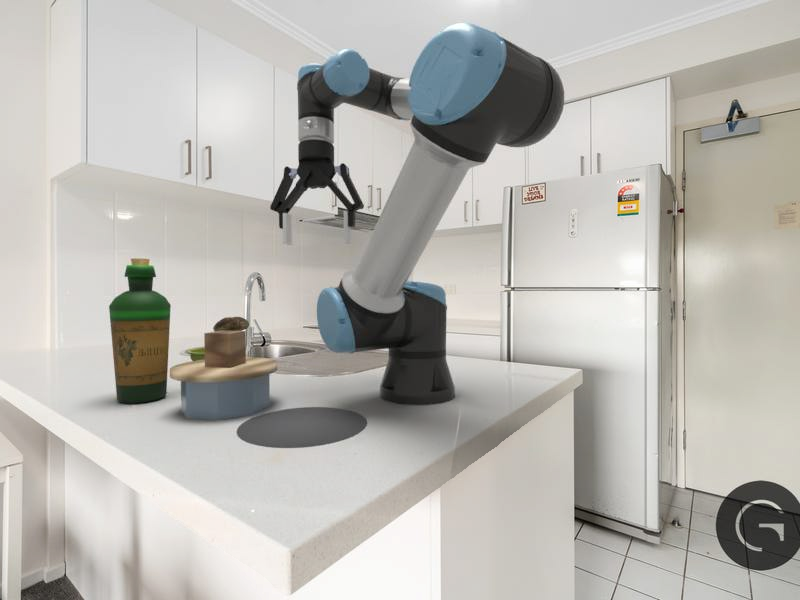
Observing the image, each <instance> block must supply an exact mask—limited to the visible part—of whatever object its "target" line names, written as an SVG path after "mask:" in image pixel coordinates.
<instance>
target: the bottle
mask: <svg viewBox="0 0 800 600" xmlns="http://www.w3.org/2000/svg"><path fill="white" fill-rule="evenodd" d="M130 262H131V264H126V266H125V272H124V276H123V277H124V278H127V283H128V290H126V291H123V292H122V293H120V294H119V295H118V296H116V297H115V298H114V299H113V300H112V301H111V302H110V304H109V305H108V311H109V320H110V322H109V323H110V332H111V343H112V345H111V346H112V354H113V356H112V357H113V368H114V378H115V379H114V380H115V381H114V382H115V392H116V400H117V401H118V402H120V403H123V404H130V405H131V404H146V403H152V402H155V401H158V400H161V399H163V398H164V397H166V396H167V389H168V388H167V387H168V372H169V371H168V365H169V346H170V326H171V325H170V324H171V307H172V306H171V303H170V301H169V300H168V299H167V298H166V297H165V296H164V295H163V294H161V293H159V292H158V291H155V290H153V285H154V278H157V274H156V270H155V266H154V265H150V259H149V258H130Z"/></svg>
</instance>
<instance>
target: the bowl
mask: <svg viewBox="0 0 800 600" xmlns="http://www.w3.org/2000/svg"><path fill="white" fill-rule="evenodd" d="M180 399H181V400H180V408H181V409H180V410H181V413H183V415H184V417H186V419H202V420H217V421H218V420H224V419H231V418H235V417H242V416H248V415H253V414H256V413H258V412H259V411H261V410H263V409H264V408H266V407H268V406H270V404H271V403H270V402H271V401H270V374H268V375H265V376H261V377H256V378H251V379H244V380H236V381H225V382H185V381H180Z"/></svg>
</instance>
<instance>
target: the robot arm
mask: <svg viewBox="0 0 800 600" xmlns="http://www.w3.org/2000/svg"><path fill="white" fill-rule="evenodd" d="M427 42H428V43H426V45H425V46H424V48H423V49H422V50H421V52H420V54H419V55H418V57H417V58H416V61H415V63H414V65H413V67H412V70H411V72H410V76H409V77H399V76H398V77H396V76H392V75H390V74H386V73H383V72H381V71H378V70H375V69H373V68H371V67H369V65H368V62H367V61H366V58H365V57H362V55H361V54H360V53H359V52H358V51H356V50H354V49H351V48H344V49H342V50H339V52H337V53H335V54H333V55H332V56H330V57H328V59H327V60H326V62H325V63H323V64H322V63H315V62H312V63H310V62H309V63H308V64H304V65H303V66H301V67H300V68H299V70H298V74H297V75H298V76H297V83H296V85H297V86H296V89H297V110H298V112H297V113H298V115H297V116H298V117H297V118H298V122H297V123H298V125H297V126H298V128H297V131H298V133H297V134H298V135H297V136H298V138H297V139H298V142H299V143H298V147H297V149H298V152H297V153H298V154H297V155H298V166H297V168H295V167H294V168H293V167H289V166H285V167H284V169H283V177H282V178H281V179H282V180H281V182H280V184H279V186H278V188H277V191H276V193H275V196H274V198H273V200H272V201H271V204H270V207H269V209H270V210H271V211H273V212H276V213H278V227H279V229H282V244H284V245H287V246H288V245H289V246H290V245H293V243H292V241H293V240H292V239H293V238H292V237H293V235H292V234H293V233H292V228H293V227H292V214H290V211H291V209H293V208H294V206H296V204H297V202H298V201H299V199H300V198H301V197H302V195H304V193H305V192H306V191H307V190H308V189H311V190H313V189H318V188H319V189H326V188H327V187H328V188H329V189H330V190H331V191H332V193H333V194H334V195H335V196H336V197H337V198H338V200H339V201H340V202H341V203H342V204H343V206H344V207H345V208H346V210H343V243H346V244H352V228H355V227H356V212H357V211H359V210H362V209H364V207H365V205H364V203H363V200H362V198H361V197H360V194H359V193H358V190H357V189H356V187H355V184H354V182H353V181H352V178H351V175H350V169H349V166H348V165H346V164H345V163H343V162H342V163H340V165H335V146H334V143H335V109H336V108H338V107H339V106H341V105H342V104H347V105H350V106H353V107H358V108H361V109H364V110H368V111H371V112H374V113H378V114H381V115H384V116H387V117H390V118H393V119H395V120H399V121H406V122H407V121H408V122H409V121H410V122H409V124H410V127H411V130H412V134H413V138H414V141H413V143H412V145H411V148H410V150H409V152H408V154H407V157H406V158H405V160H404V163H403V165H402V167H401V170H400V172H399V174H398V176H397V179H396V181H395V182H394V183H393V184H394V185H393V187H392V189H391V191H390V193H389V195H388V198H387V200H386V202H385V204H384V207H383V209H382V211H381V212H380V214H379V217H378V219H377V223H376V224H375V226H374V229H373V230H372V233H371V235H370V237H369V240H368V241H367V244H366V246H365V248H364V250H363V253H362V254H361V257H360V259H359V262H358V263H357V266H355V267H350V268H349V269H347V270H346V271H345V272H344V273H343V275H342V277H341V279H340V282H339V285H338V286H337V287H335V286H334V287H333V286H329V287H326V288H323V289H322V290H321V292H320V293H319V295H318V297H317V303H316V319H317V326H318V330H319V334H320V337H321V340H322V341H323V343H324V345H325V346H326V348H328V350H329V351H332V352H333V353H336V354H354V353H360V352H363V353H364V352H370V351H376V350H377V351H379V350H387V349H388V359H387V363H386V367H385V369H384V372H383V377H382V380H381V382H380V385H379V397H380V398H381V399H382V400H384V401H387V402H389V403H394V404H398V405H406V406H409V405H410V406H431V405H438V404H443V403H447V402H450V401H452V400H454V399H455V397H456V394H455V393H456V392H455V391H456V387H455V383H454V381H453V377H452V374H451V371H450V368H449V364H448V361H447V310H448V305H447V300H446V299H447V298H446V297H447V296H446V291H445V289H444V288H443V287H442V286H440V285H437V284H435V283H434V284H433V283H430V282H429V283H428V282H424V281H423V282H422V281H410V280H409V278H410V276H411V274H412V272H413V270H414V269H415V267H416V265H418V262H419V260H420V258H421V257H422V255H423V253H424V251H425V250H426V248H427V246H428V244H429V241H430V240H431V238H432V236H433V235H434V233H435V231H436V229H437V228H438V225H440V222H441V220H442V219H443V217H444V215H445V214H446V211H447V210H448V208H449V206H450V204H451V203H452V200H453V199H454V197H455V195H456V193H457V191H458V190H459V188H460V186H461V185H462V182H463V181H464V179H465V177H466V176H467V173H468V171H469V170H470V169H471V168H475V167H478V166H481V165H484V164H485V163H486V162H487V160H488V158H490V157H489V156H490V155H491V153H492V151H493V150H494V148H495V147H496V144H497V145H500V146H504V147H507V148H525V147H530V146H533V145H536V144H537V143H539V142H541V141H542V140H544V139H545V138H547V136H549V135H550V134H551V133H552V131H553V130H554V129H555V128H556V126H557V124H558V123H559V121H560V118H561V116H562V114H563V111H564V106H565V90H564V84H563V82H562V80H561V76H560V74H559V73H558V71H556V69H555V67H553V66H552V64H550V63H549V62H548V61H546V60H544V59H543V58H541V57H538V56H537V55H534V54H532V53H531V52H529V51H527V50H525V49H523V48H522V47H521V46H518V45H516V44H515V43H513V42H511V41H509V40H508V39H506V38H504V37H502V36H500V35H499V33H497V32H496V31H492V30H489V29H487V28H484V27H481V26H480V25H476V24H473V23H469V22H458V23H453V24H451V25H449V26H447V27H446V28H445V29H443V30H441V31H439V32H438V33H436V34H435V35H434V36H433V37H432V38H431V39H430V40H429V41H427ZM336 174H337V175H338V176H340V177H341V178H342V181H343V183H344V185H345V187H346V189H347V191H348V193H349V195H350V197H351V199H352V201H353V203H352V202H351V201H350V200H349V198H348V197H347V196H346V195H345V194H344V193H343V191H342V190H341V189H340V188H339V187H338V184H336V183H335V182H334V181H333V179H334V177H335V175H336ZM297 175H298V177H299V179H298V180H297V182H296V183H295V186H294V187H293V189H292V190H291V188H292V185H293V182H294V180H295V179H296V177H297ZM290 190H291V191H290Z"/></svg>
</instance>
